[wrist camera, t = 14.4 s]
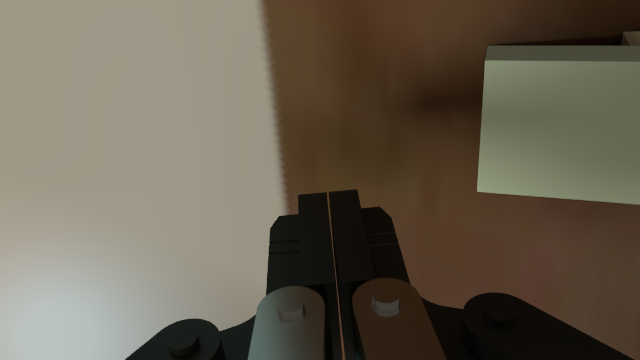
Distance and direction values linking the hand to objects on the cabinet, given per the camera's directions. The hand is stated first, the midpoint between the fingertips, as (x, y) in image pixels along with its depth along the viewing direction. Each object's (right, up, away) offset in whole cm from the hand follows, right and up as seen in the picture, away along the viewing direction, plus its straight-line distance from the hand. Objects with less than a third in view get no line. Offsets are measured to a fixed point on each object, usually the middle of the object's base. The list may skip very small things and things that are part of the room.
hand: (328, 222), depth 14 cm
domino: (+6, +3, +6) cm, 9 cm away
